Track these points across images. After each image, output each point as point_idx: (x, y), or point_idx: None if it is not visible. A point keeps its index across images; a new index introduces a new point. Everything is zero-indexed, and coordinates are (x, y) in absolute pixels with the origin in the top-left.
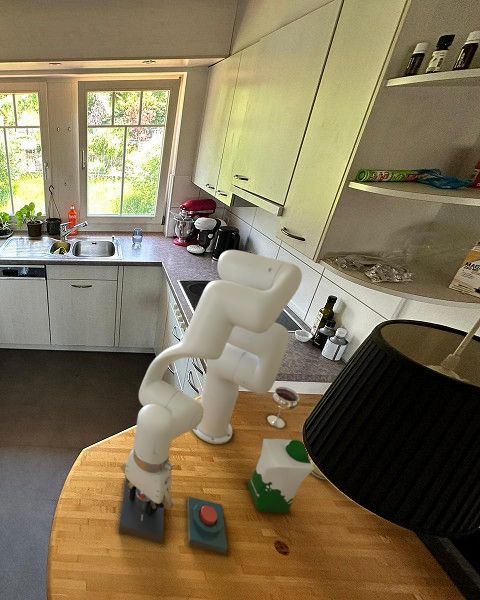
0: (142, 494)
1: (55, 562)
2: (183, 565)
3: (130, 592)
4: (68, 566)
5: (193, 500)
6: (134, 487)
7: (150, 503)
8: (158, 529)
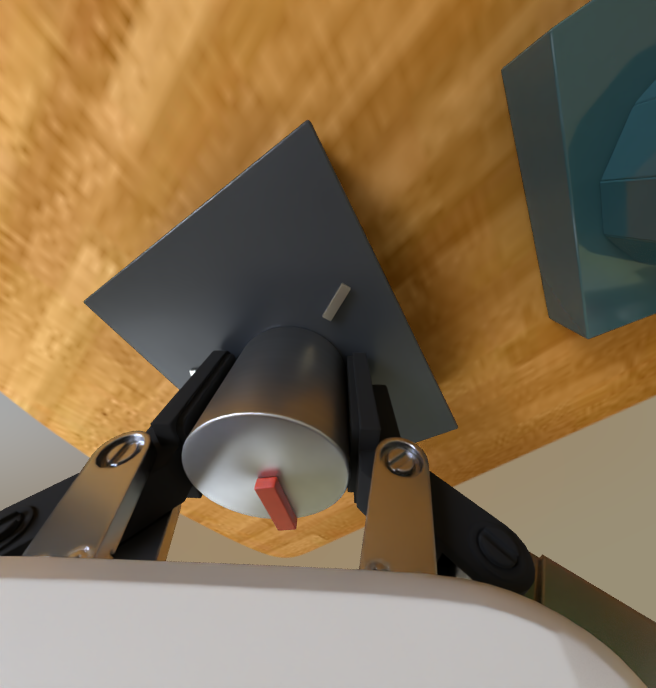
0: (269, 513)
1: (243, 543)
2: (537, 391)
3: None
4: (267, 536)
5: (609, 30)
6: (184, 495)
7: (353, 483)
8: (426, 417)
